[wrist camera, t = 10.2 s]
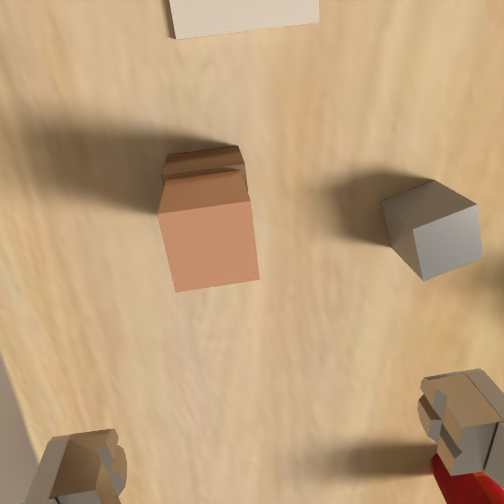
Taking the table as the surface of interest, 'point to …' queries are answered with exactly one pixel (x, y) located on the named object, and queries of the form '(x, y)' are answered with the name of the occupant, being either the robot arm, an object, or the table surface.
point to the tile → (238, 15)
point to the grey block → (433, 229)
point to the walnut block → (204, 163)
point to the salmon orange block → (208, 231)
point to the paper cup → (466, 486)
